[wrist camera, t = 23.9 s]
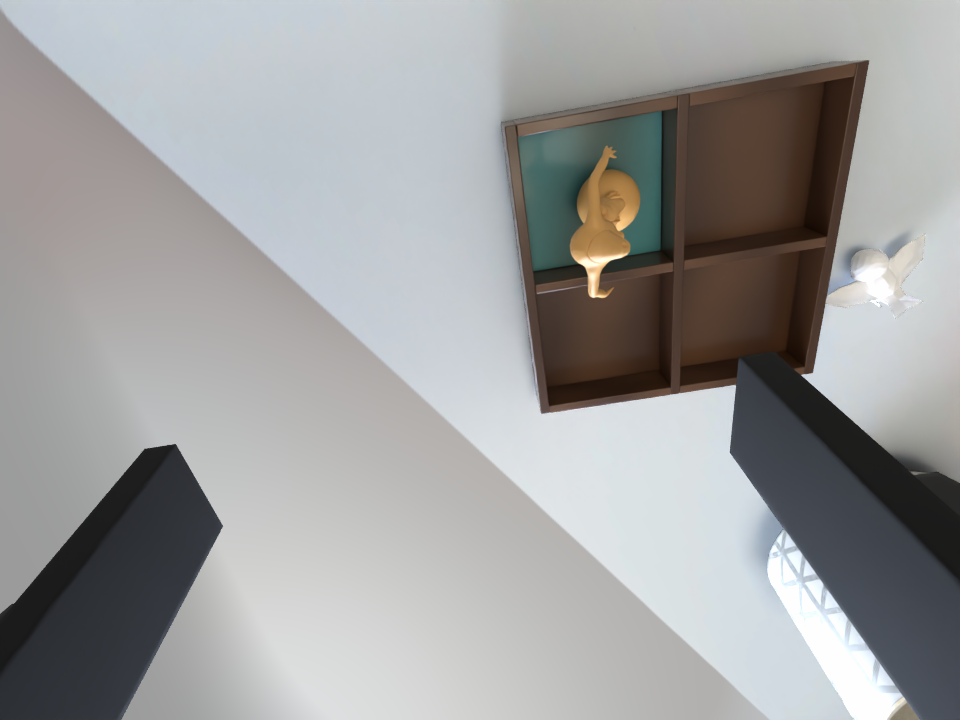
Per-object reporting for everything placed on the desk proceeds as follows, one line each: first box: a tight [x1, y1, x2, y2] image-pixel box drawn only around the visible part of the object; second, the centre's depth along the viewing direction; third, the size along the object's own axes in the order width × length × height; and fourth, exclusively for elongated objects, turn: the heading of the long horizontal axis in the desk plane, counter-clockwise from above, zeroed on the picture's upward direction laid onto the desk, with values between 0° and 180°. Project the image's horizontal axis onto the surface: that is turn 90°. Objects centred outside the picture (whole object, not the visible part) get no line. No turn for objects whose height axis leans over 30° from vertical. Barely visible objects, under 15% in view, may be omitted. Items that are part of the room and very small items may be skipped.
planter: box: [767, 471, 926, 720], centre depth 44 cm, size 19×19×18 cm
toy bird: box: [825, 233, 926, 319], centre depth 37 cm, size 8×5×5 cm, turn 131°
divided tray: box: [501, 60, 869, 414], centre depth 36 cm, size 21×21×3 cm
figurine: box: [570, 146, 640, 298], centre depth 30 cm, size 8×6×12 cm
